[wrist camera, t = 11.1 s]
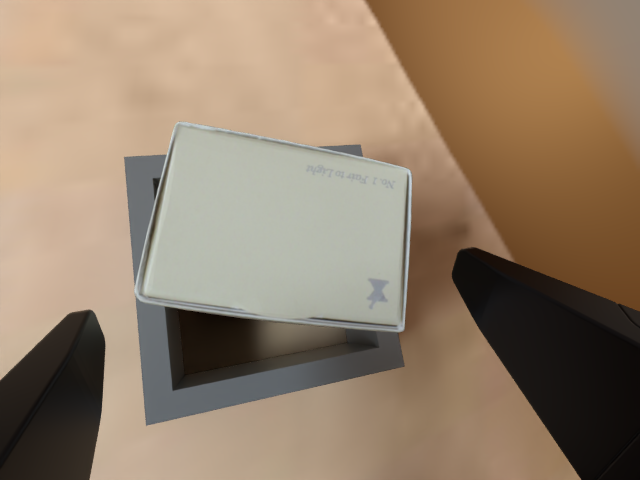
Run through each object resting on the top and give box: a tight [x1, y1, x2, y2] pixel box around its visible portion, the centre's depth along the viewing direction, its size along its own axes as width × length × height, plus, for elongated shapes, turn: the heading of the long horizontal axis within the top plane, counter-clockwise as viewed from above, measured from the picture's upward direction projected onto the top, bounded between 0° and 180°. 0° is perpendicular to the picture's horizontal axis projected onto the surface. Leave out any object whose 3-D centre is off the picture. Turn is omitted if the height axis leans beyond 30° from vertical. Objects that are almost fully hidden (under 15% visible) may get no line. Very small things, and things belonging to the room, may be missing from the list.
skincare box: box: [134, 122, 412, 333], centre depth 14 cm, size 6×4×12 cm
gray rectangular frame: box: [124, 145, 404, 426], centre depth 18 cm, size 10×10×4 cm
